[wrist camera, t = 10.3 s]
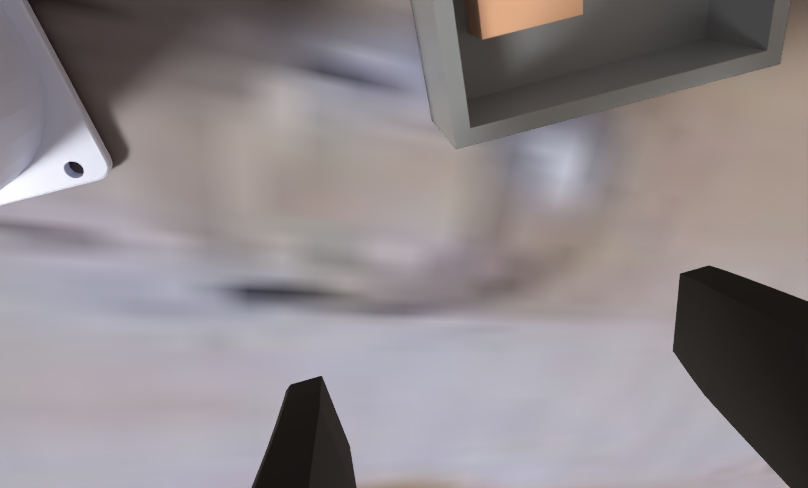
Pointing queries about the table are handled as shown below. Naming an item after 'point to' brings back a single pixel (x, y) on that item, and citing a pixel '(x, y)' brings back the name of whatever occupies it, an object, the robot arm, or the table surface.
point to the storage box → (579, 56)
